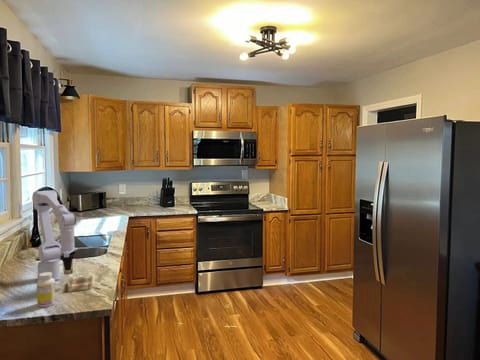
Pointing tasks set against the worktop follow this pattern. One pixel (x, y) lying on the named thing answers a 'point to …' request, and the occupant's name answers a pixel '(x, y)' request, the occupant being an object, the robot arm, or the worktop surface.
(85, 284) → the jig
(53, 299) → the supplement bottle
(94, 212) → the worktop surface
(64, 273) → the brass round peg
